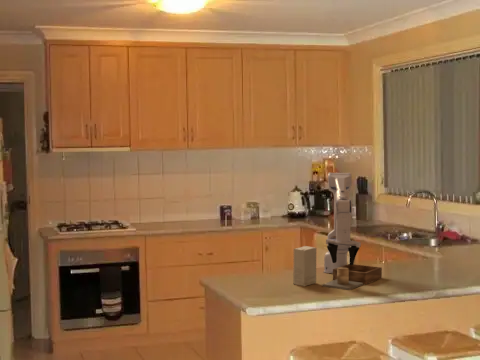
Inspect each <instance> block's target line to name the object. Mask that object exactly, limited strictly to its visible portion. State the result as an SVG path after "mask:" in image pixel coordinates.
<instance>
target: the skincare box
mask: <svg viewBox="0 0 480 360" xmlns="http://www.w3.org/2000/svg"><path fill="white" fill-rule="evenodd" d="M292 275H293V285H296V286H301V287H306V286H310V285H312V284H317V247H314V246H307V245H303V246H299V247H297V248H293V274H292Z"/></svg>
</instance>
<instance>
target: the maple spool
mask: <svg viewBox="0 0 480 360" xmlns="http://www.w3.org/2000/svg"><path fill="white" fill-rule="evenodd" d="M337 284H341V285H346V284H349V269H348V268H337Z"/></svg>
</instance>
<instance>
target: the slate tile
mask: <svg viewBox="0 0 480 360" xmlns="http://www.w3.org/2000/svg"><path fill="white" fill-rule="evenodd" d="M363 285H364V284H363V283H361V282H353V281H349V284H346V285H341V284H337V279H336V280H333V279H332V280H331V281H328V282H325V283H323V284H322V287H325V288H332V289H339V290H345V291H346V290H347V291H350V290H351V291H352V290H353V289H355V288H358V287H361V286H363Z"/></svg>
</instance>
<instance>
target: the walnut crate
mask: <svg viewBox="0 0 480 360" xmlns="http://www.w3.org/2000/svg"><path fill="white" fill-rule="evenodd" d="M338 268H348V269H349V281H353V282H361V283H363V285H367V284H371V283H373V282H375V280H376V281H379V280H380V279H382V273H383V272H382V269H383V268H382V267H381V266H370V265H365V264H364V265H361V264H353V265H350V263H347V265H344V266H341V267H338ZM336 279H337V268H335V269H333V273H332V281H333V280H336Z"/></svg>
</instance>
